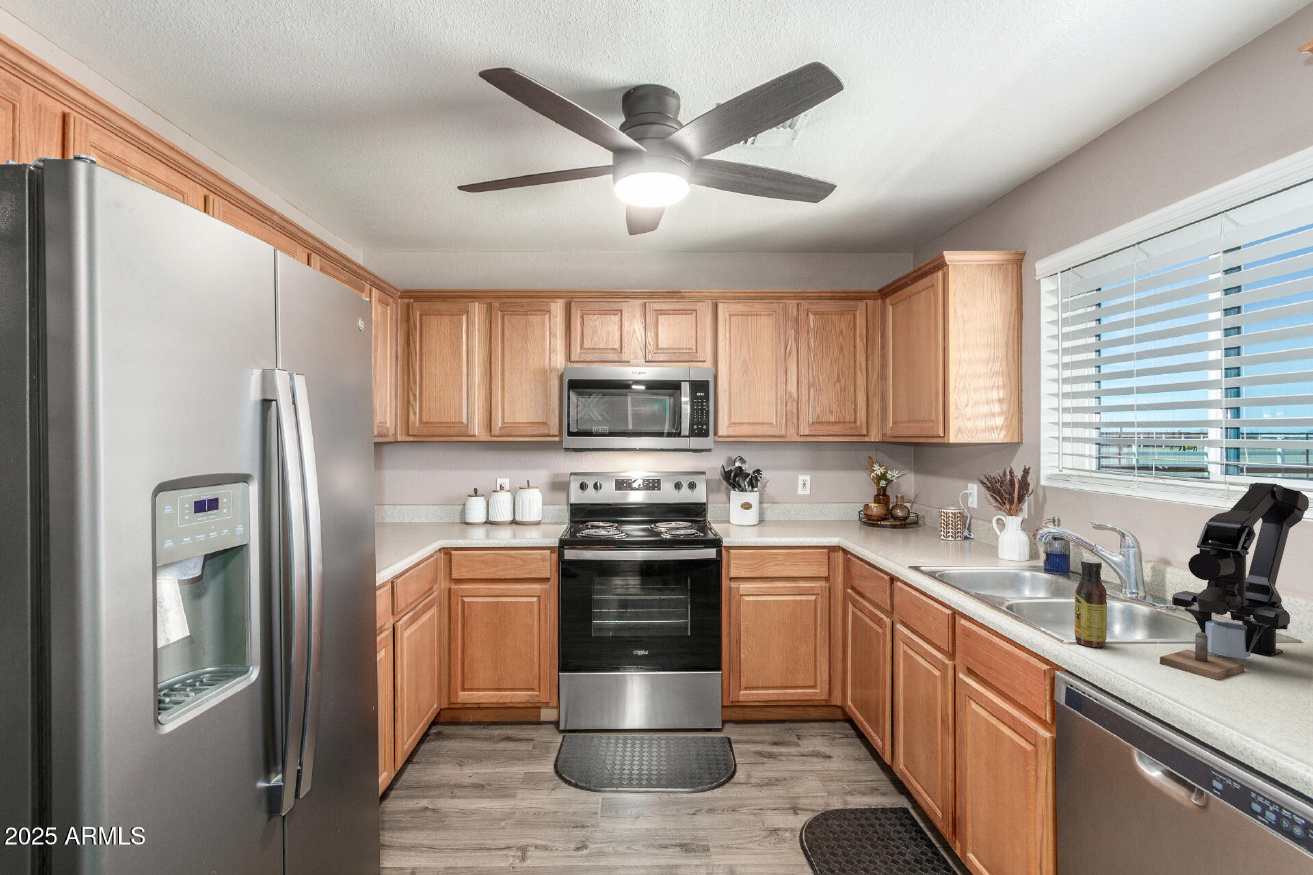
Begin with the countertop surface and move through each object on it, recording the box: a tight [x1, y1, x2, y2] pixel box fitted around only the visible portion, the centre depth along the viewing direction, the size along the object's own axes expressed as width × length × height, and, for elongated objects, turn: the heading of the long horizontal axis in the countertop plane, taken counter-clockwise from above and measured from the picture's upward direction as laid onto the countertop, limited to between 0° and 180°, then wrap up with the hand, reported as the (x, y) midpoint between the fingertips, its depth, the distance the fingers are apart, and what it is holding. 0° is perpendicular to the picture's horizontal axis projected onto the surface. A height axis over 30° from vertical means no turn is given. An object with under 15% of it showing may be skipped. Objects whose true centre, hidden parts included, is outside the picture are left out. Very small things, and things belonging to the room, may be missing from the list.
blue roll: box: [1205, 619, 1252, 659], centre depth 139 cm, size 7×7×6 cm
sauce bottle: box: [1074, 558, 1108, 649], centre depth 149 cm, size 7×6×20 cm
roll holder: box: [1159, 631, 1245, 681], centre depth 134 cm, size 11×10×8 cm
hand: (1227, 646), depth 139 cm, fingers closed on blue roll, 7 cm apart
